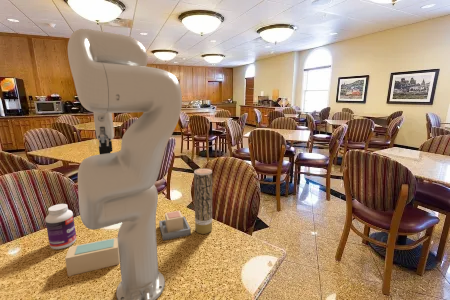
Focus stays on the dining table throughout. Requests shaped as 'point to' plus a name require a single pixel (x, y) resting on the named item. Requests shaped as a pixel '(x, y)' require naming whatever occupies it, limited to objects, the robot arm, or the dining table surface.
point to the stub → (174, 221)
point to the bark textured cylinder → (203, 200)
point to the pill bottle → (60, 226)
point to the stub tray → (174, 234)
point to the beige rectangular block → (92, 256)
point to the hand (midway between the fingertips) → (106, 154)
